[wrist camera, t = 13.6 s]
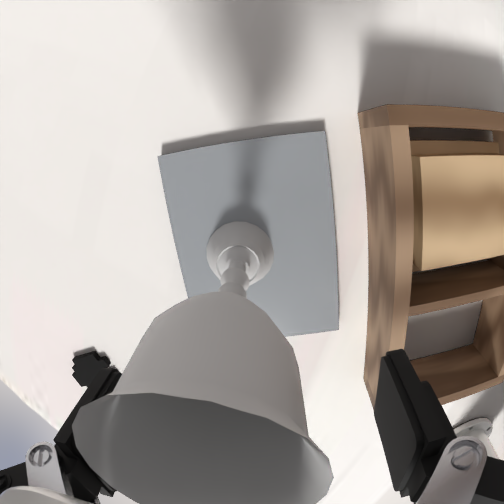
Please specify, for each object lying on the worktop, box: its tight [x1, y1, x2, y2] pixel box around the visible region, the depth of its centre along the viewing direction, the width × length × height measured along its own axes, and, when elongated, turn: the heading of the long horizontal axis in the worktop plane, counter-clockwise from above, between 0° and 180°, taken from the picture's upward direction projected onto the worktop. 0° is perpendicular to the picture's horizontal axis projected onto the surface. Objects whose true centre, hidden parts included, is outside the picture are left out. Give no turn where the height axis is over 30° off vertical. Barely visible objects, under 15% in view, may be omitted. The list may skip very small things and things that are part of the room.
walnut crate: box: [358, 104, 504, 409], centre depth 21 cm, size 24×14×6 cm, turn 8°
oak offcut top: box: [411, 153, 504, 271], centre depth 19 cm, size 8×9×2 cm
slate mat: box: [158, 131, 339, 337], centre depth 24 cm, size 16×12×1 cm
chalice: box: [72, 221, 334, 504], centre depth 15 cm, size 7×7×18 cm
